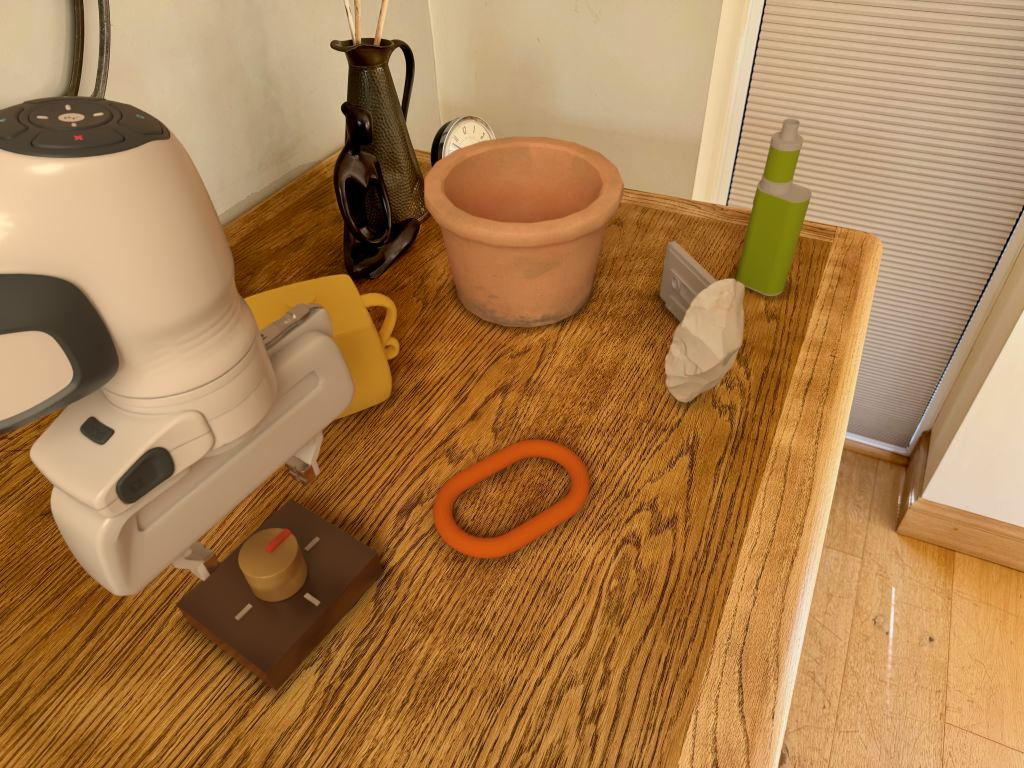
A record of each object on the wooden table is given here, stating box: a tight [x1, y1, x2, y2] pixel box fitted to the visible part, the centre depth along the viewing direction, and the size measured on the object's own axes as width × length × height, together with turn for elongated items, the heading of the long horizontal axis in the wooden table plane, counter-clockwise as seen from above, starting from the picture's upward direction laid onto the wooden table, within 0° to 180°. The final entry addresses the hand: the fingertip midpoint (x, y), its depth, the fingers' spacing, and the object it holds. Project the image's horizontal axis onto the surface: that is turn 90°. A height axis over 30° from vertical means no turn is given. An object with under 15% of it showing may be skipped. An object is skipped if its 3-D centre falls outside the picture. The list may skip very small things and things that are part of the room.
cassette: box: [659, 240, 717, 323], centre depth 81 cm, size 12×2×8 cm, turn 22°
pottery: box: [423, 136, 625, 329], centre depth 84 cm, size 22×22×14 cm
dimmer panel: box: [175, 498, 384, 692], centre depth 58 cm, size 12×10×3 cm
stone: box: [664, 278, 746, 404], centre depth 69 cm, size 8×5×15 cm
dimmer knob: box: [238, 528, 308, 602], centre depth 56 cm, size 4×4×4 cm
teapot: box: [243, 273, 401, 421], centre depth 73 cm, size 20×12×12 cm, turn 113°
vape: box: [735, 117, 813, 297], centre depth 82 cm, size 4×6×20 cm, turn 47°
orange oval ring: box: [432, 438, 591, 559], centre depth 65 cm, size 10×2×15 cm
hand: (258, 520), depth 52 cm, fingers open, 8 cm apart
